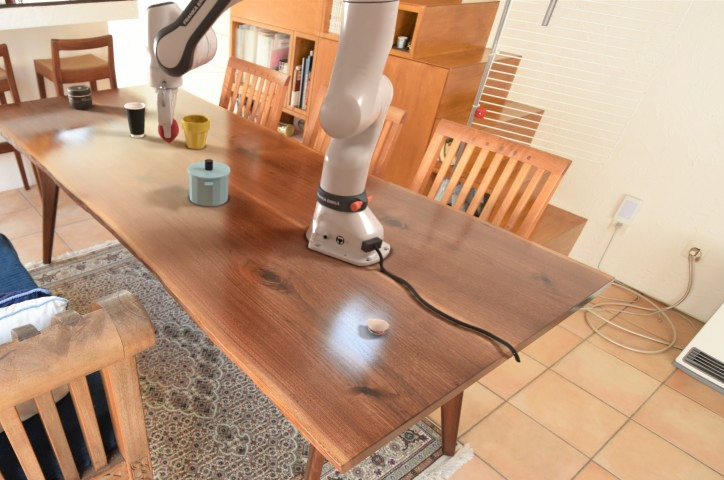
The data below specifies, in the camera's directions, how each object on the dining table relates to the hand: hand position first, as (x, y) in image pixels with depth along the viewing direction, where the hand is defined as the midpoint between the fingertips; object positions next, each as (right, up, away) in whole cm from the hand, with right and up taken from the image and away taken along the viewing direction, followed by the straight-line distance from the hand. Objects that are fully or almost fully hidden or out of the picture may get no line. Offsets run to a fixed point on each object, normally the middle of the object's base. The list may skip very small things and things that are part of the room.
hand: (168, 132), depth 136 cm
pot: (+11, -14, +13) cm, 22 cm away
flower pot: (+5, +14, +46) cm, 49 cm away
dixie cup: (-18, +21, +53) cm, 60 cm away
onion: (0, -2, +2) cm, 3 cm away
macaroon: (+47, -56, -33) cm, 80 cm away
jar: (-47, +45, +80) cm, 103 cm away
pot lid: (+11, -8, +7) cm, 15 cm away
